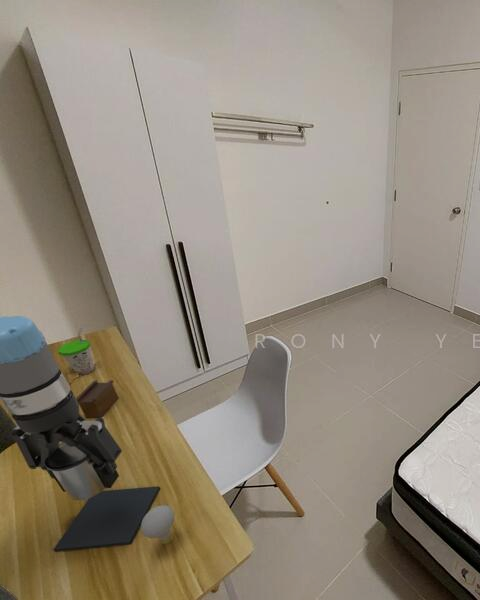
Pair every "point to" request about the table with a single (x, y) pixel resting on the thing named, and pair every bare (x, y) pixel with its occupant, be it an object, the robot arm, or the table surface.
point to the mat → (108, 519)
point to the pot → (75, 472)
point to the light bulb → (158, 523)
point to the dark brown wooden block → (97, 399)
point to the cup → (78, 355)
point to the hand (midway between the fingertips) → (91, 483)
